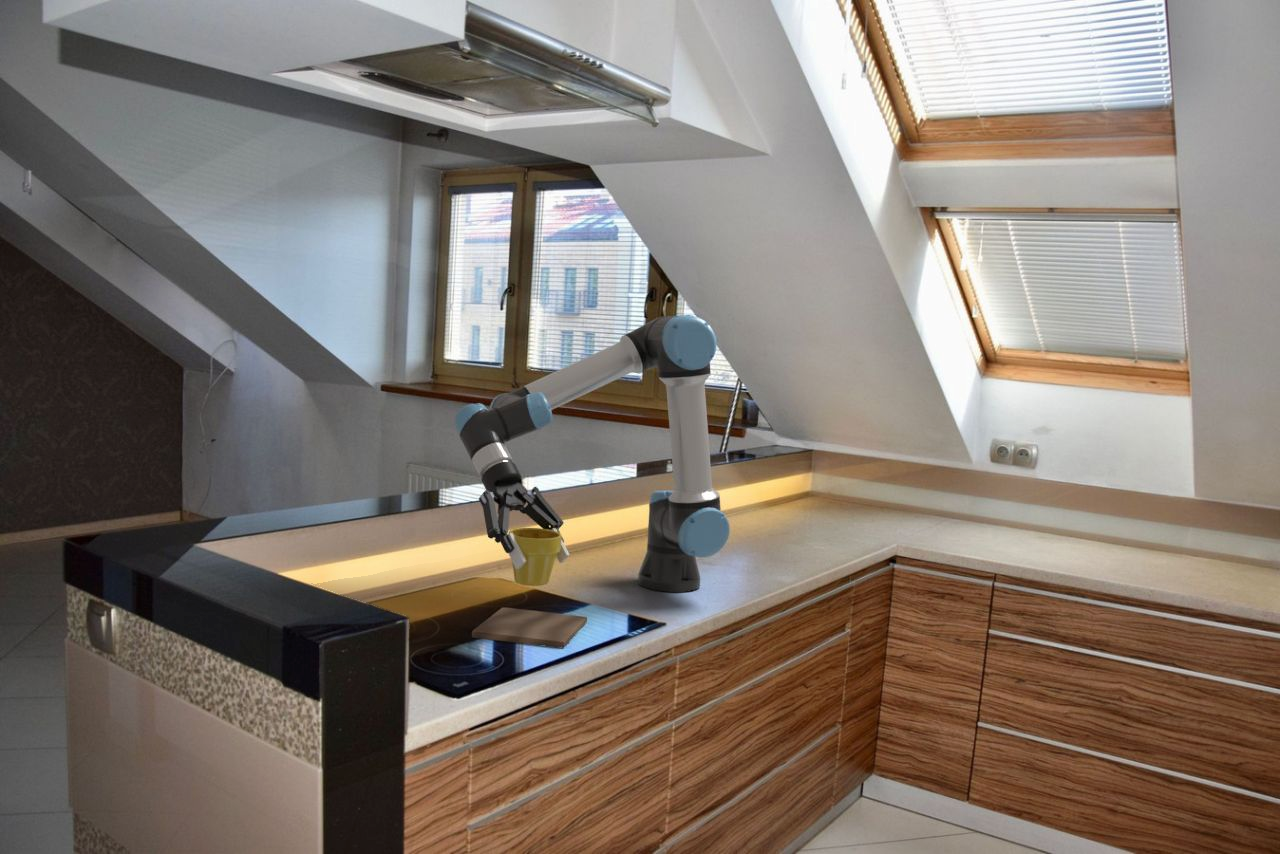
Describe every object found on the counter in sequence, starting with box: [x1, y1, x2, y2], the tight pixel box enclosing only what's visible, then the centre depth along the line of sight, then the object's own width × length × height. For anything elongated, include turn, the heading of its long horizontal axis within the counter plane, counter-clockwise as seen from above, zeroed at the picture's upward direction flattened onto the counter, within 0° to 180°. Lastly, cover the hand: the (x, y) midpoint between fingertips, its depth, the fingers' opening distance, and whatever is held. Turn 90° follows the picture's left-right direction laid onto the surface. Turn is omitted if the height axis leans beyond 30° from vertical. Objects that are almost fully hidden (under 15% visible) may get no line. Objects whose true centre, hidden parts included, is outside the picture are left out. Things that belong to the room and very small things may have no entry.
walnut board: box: [471, 606, 588, 649], centre depth 187 cm, size 18×18×1 cm
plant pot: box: [507, 527, 563, 587], centre depth 186 cm, size 10×10×10 cm
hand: (543, 562), depth 184 cm, fingers closed on plant pot, 10 cm apart
